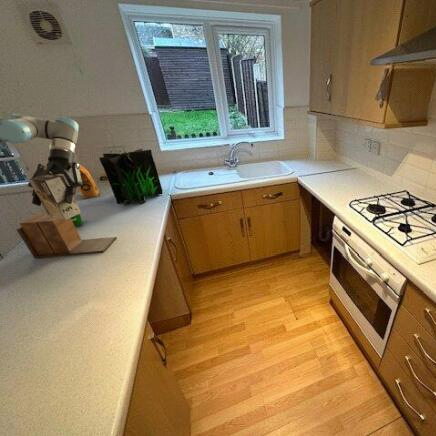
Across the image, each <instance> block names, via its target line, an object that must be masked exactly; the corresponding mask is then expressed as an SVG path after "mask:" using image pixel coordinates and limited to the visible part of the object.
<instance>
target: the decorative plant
mask: <svg viewBox="0 0 436 436" xmlns="http://www.w3.org/2000/svg"><path fill="white" fill-rule="evenodd" d="M98 159H99V162H100V164H101V166H102V168H103V170H104V173H105V176H106V178H107V180H108V183H109V186H110V188H111V191H112V193H113V196H114V199H115V202H116V203H117V204H118V205H119V204H123V203H124V201H125V204H124V206H127V205H128V206H130V205H131V204H133V202H134V201H136V200H139V202H140V205H142V204H144V203H146V202H145V201H146V199H145V198H146V197H144V196H149V197H156V196H155V195H157V196H159V195H158V194H163V193H164V192H163V187H162V184H161V180H160V176H159V173H158V169H157V166H156V162H155V161H154V157H153V153H152V149H145V150H144V149H143V148H139V149H136V150H134V151H129V152H127V151H126V150H125V151H124V152H122V153H102V157H101V156H99V157H98ZM163 195H164V194H163ZM135 199H136V200H135ZM133 200H134V201H133ZM143 202H144V203H143Z"/></svg>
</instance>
